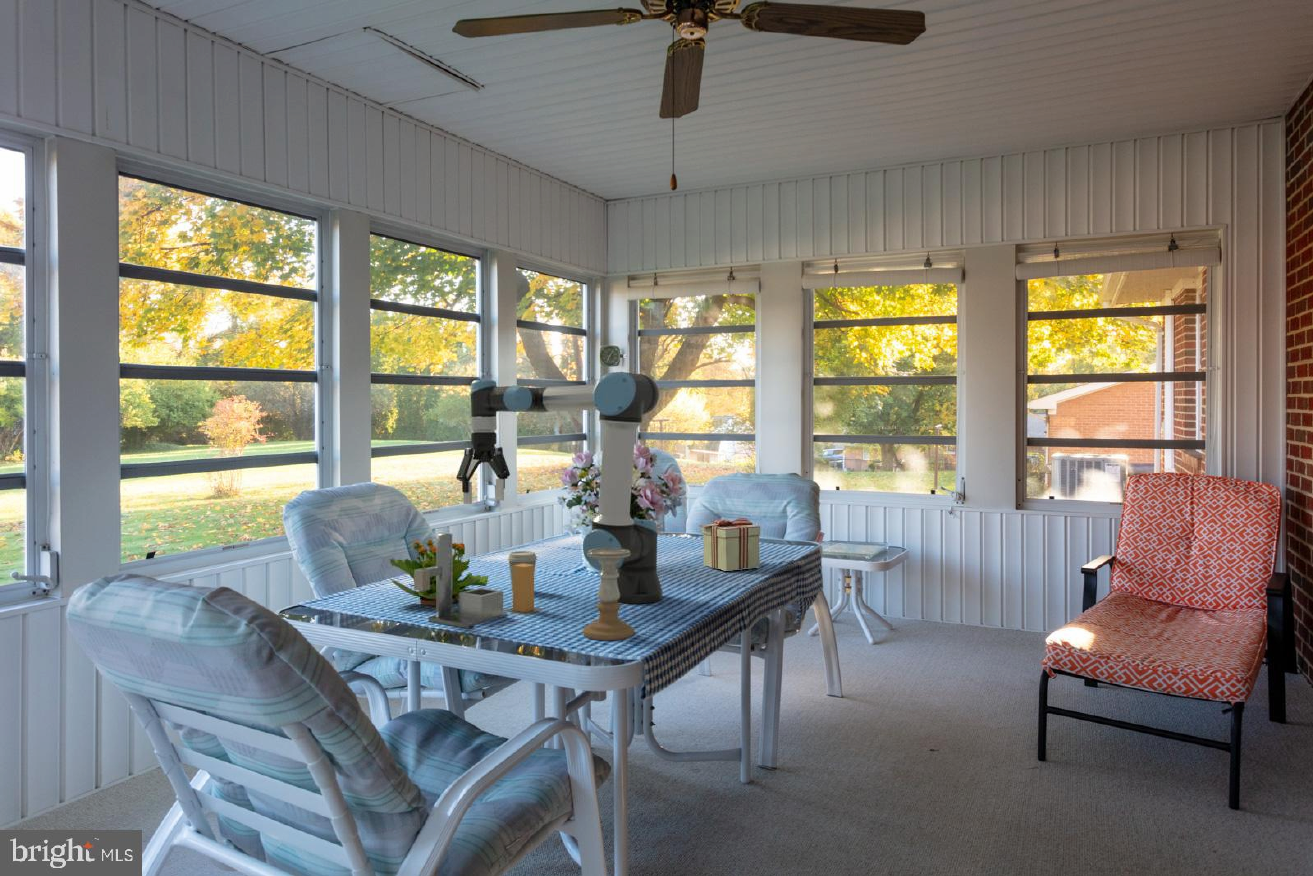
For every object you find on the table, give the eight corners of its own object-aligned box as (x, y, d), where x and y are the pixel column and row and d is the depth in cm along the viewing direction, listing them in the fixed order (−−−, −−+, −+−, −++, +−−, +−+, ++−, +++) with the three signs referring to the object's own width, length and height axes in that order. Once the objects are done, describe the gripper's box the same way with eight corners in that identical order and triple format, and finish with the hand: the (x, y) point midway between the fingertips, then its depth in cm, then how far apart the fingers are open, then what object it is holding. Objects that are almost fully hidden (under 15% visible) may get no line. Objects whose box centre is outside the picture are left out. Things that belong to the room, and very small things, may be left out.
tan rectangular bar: (534, 609, 223) (534, 564, 223) (524, 612, 220) (524, 567, 220) (522, 607, 226) (522, 563, 225) (512, 610, 222) (512, 565, 222)
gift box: (728, 561, 305) (729, 514, 304) (762, 569, 290) (763, 519, 289) (691, 565, 295) (692, 517, 295) (725, 574, 280) (725, 523, 279)
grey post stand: (507, 617, 217) (507, 533, 216) (453, 633, 200) (453, 542, 200) (467, 610, 224) (468, 529, 223) (412, 625, 208) (412, 537, 207)
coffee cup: (539, 590, 250) (539, 551, 250) (532, 596, 242) (532, 555, 242) (512, 590, 251) (512, 550, 251) (504, 596, 243) (504, 555, 242)
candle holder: (580, 640, 195) (581, 555, 194) (585, 627, 207) (585, 546, 207) (633, 641, 195) (633, 555, 194) (634, 627, 207) (635, 547, 207)
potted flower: (456, 615, 219) (456, 549, 218) (373, 610, 223) (373, 545, 223) (491, 595, 243) (492, 535, 243) (416, 591, 248) (416, 533, 247)
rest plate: (544, 611, 224) (544, 608, 224) (525, 617, 217) (525, 614, 217) (521, 607, 228) (521, 605, 228) (502, 613, 221) (502, 610, 221)
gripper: (503, 431, 263) (503, 498, 263) (443, 431, 242) (444, 504, 242) (521, 431, 259) (521, 499, 259) (462, 432, 238) (462, 506, 238)
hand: (484, 502), depth 251 cm, fingers open, 13 cm apart
